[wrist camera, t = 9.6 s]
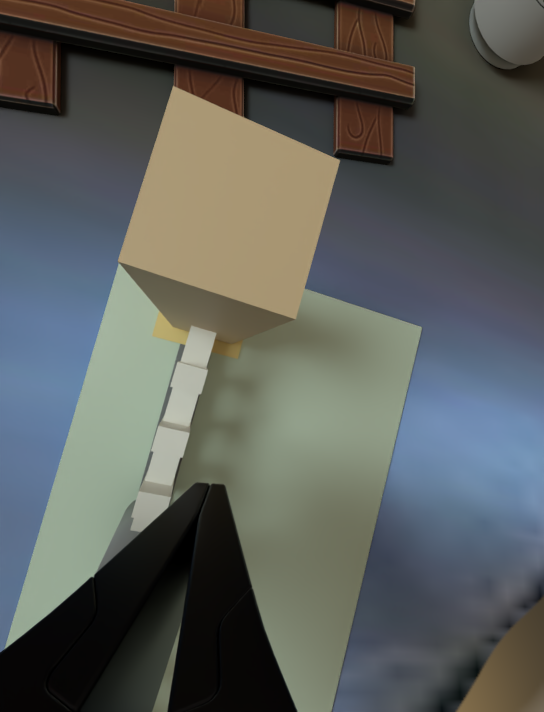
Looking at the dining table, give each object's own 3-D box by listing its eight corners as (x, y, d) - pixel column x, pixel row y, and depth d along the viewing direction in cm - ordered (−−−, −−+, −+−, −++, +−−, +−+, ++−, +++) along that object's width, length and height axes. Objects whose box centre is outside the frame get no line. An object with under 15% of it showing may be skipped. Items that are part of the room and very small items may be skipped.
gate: (187, 495, 16) (164, 791, 5) (125, 484, 16) (-52, 792, 5) (247, 288, 17) (340, 160, 6) (190, 269, 17) (173, 85, 5)
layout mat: (318, 756, 18) (320, 763, 18) (-26, 754, 15) (-31, 762, 15) (420, 327, 20) (423, 327, 20) (129, 232, 16) (128, 229, 16)
